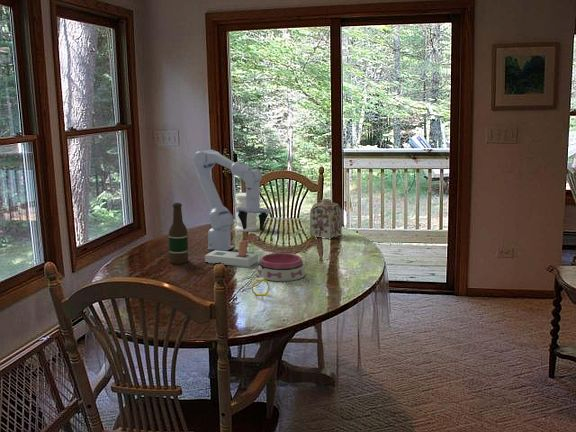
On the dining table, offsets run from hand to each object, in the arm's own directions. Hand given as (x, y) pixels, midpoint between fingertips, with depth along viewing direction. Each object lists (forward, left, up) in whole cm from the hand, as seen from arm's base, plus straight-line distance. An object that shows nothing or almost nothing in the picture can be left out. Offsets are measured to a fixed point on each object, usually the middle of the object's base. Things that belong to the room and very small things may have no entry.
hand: (253, 229), depth 255 cm
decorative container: (-22, +44, -11) cm, 50 cm away
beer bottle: (-23, -23, -11) cm, 34 cm away
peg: (+2, -16, -10) cm, 19 cm away
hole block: (-3, -16, -10) cm, 19 cm away
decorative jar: (+20, +43, -11) cm, 49 cm away
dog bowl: (+22, -26, -11) cm, 36 cm away
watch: (+24, -51, -11) cm, 57 cm away
